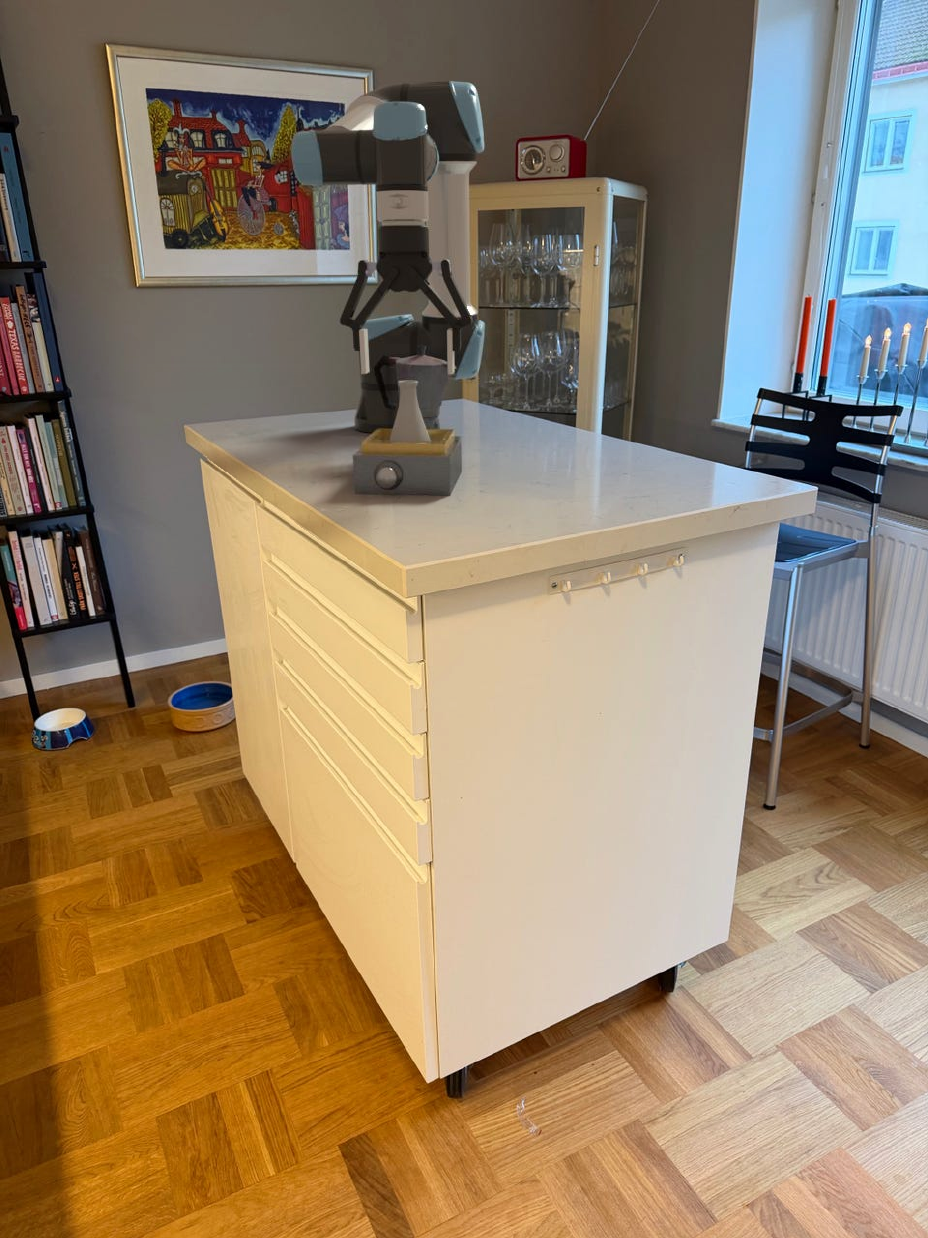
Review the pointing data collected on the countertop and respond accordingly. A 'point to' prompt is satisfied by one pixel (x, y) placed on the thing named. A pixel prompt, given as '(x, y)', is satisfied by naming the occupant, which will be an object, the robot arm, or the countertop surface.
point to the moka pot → (429, 379)
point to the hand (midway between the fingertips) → (408, 373)
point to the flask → (409, 417)
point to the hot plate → (408, 464)
